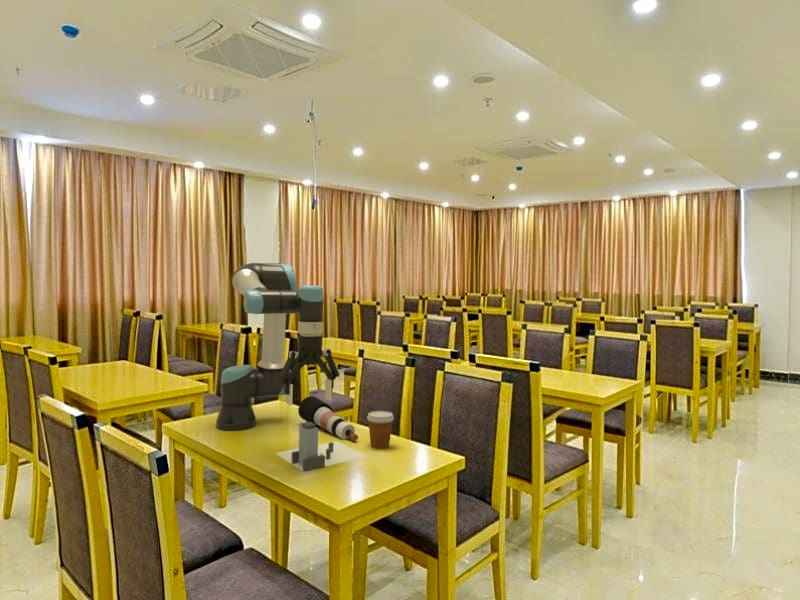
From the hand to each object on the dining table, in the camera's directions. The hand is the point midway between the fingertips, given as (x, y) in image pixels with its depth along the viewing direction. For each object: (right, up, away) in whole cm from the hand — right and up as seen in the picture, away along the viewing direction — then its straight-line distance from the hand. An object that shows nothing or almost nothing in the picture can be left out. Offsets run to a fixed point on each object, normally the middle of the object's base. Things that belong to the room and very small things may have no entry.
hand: (309, 402), depth 171 cm
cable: (+2, -19, +38) cm, 43 cm away
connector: (-1, -20, +1) cm, 20 cm away
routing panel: (+2, -20, +11) cm, 23 cm away
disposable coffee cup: (+21, -20, +22) cm, 37 cm away
